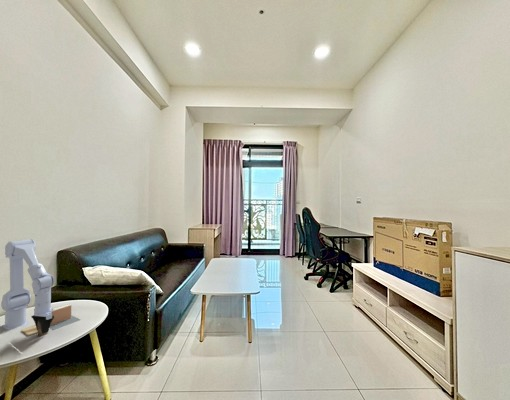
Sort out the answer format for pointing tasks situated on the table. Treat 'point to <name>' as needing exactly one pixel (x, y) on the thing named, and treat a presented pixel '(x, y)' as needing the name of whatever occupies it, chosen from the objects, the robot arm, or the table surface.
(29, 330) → the board
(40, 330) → the dowel
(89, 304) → the table surface
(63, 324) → the mat
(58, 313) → the tile
